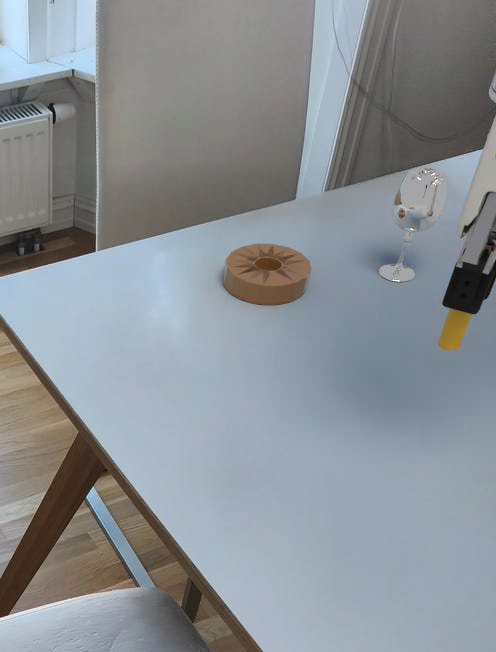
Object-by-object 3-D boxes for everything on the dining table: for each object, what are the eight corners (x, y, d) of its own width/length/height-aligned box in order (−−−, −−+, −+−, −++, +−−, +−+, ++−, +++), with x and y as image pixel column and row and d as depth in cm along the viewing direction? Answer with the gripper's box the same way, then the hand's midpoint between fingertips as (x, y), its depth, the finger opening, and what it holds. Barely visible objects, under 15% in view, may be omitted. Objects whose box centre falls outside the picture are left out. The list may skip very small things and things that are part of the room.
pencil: (456, 339, 84) (495, 236, 77) (461, 351, 83) (501, 248, 75) (435, 339, 85) (471, 237, 77) (439, 351, 83) (477, 248, 76)
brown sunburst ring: (301, 263, 115) (305, 243, 113) (310, 305, 109) (315, 286, 107) (221, 262, 116) (223, 243, 114) (225, 304, 110) (229, 284, 108)
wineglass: (418, 287, 111) (452, 189, 101) (371, 280, 112) (400, 183, 103) (421, 265, 114) (454, 168, 105) (375, 259, 116) (404, 163, 106)
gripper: (574, 124, 61) (479, 357, 75) (627, 48, 68) (532, 273, 83) (464, 104, 64) (392, 332, 78) (527, 34, 71) (451, 253, 86)
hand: (465, 300), depth 80 cm, fingers closed on pencil, 2 cm apart
